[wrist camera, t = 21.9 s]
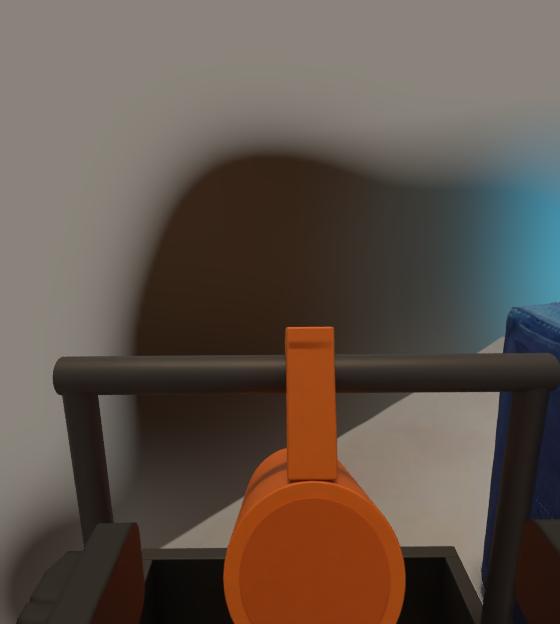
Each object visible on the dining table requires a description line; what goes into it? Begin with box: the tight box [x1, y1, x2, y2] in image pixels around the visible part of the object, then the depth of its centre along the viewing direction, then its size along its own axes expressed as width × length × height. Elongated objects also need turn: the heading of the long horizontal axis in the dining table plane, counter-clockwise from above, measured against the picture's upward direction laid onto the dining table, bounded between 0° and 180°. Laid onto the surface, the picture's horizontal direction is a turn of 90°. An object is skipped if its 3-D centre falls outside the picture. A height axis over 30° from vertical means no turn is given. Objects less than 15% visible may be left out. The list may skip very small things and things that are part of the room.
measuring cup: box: [223, 327, 406, 624], centre depth 19 cm, size 10×6×9 cm
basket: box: [53, 353, 560, 624], centre depth 19 cm, size 18×12×20 cm, turn 90°
